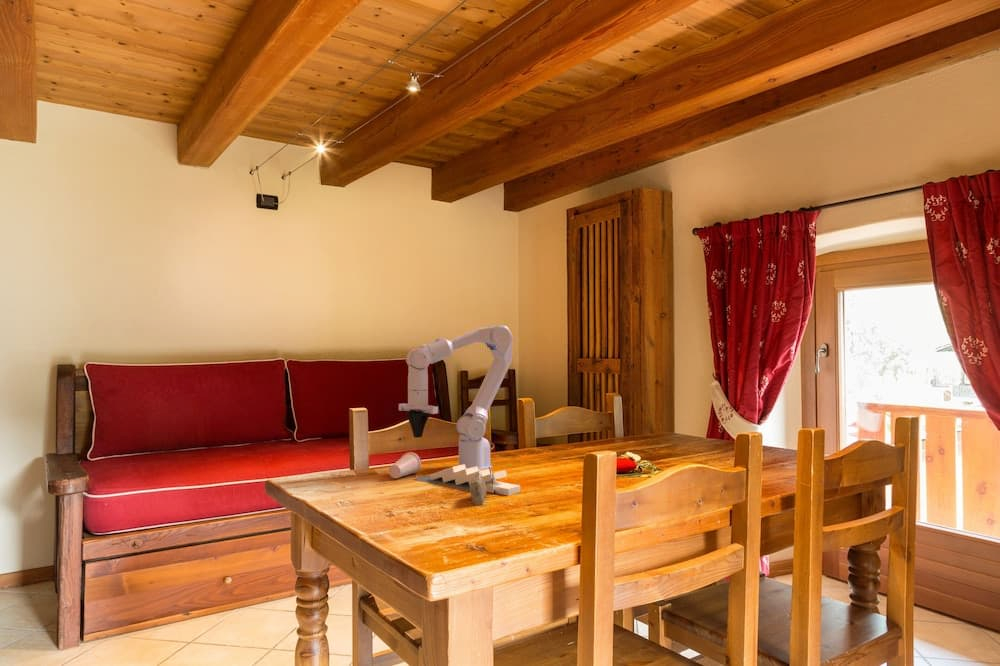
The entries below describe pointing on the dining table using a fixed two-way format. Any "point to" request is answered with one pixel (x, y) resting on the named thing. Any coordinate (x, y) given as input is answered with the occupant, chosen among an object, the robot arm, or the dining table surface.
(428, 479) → the runner mat
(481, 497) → the cuneiform tablet
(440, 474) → the domino
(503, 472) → the domino
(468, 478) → the domino
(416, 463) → the smoothie
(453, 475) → the domino
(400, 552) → the dining table surface
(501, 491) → the domino
